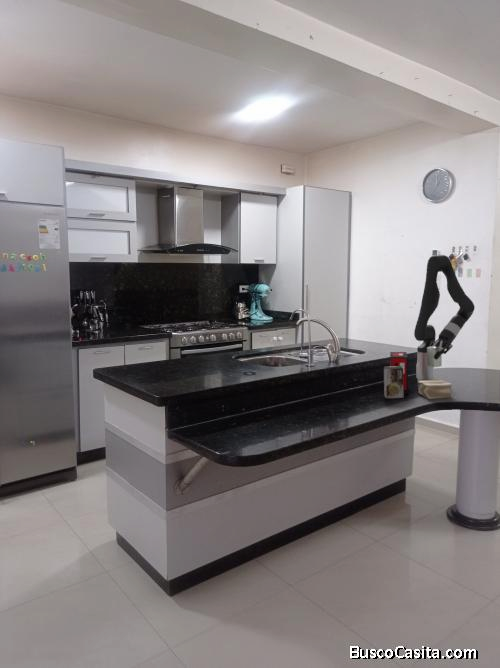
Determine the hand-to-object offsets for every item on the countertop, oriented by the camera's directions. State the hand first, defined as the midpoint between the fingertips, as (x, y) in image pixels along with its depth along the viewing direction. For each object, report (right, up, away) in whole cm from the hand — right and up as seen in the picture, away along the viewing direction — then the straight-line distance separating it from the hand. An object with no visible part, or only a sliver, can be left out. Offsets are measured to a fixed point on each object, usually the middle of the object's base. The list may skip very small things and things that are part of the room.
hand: (431, 357), depth 254 cm
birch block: (+3, -20, +3) cm, 21 cm away
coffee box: (-19, -21, +4) cm, 29 cm away
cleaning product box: (-12, -19, +18) cm, 29 cm away
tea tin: (+2, -4, +1) cm, 5 cm away
